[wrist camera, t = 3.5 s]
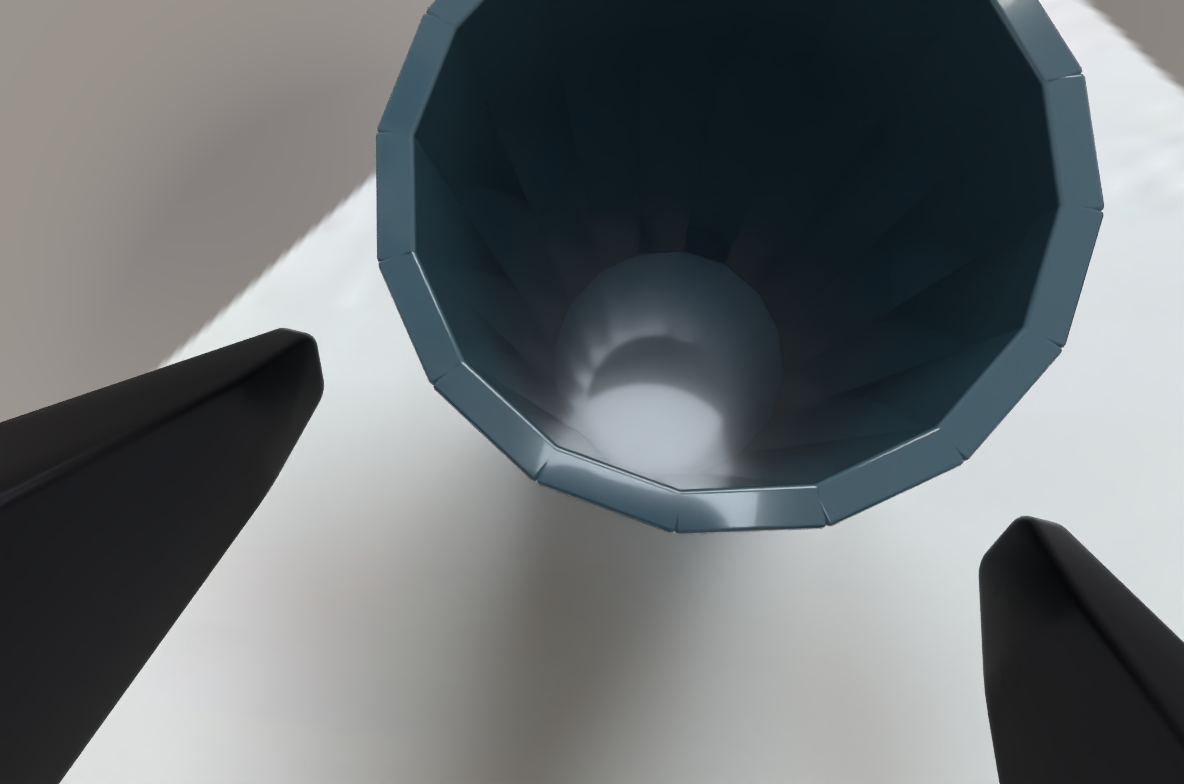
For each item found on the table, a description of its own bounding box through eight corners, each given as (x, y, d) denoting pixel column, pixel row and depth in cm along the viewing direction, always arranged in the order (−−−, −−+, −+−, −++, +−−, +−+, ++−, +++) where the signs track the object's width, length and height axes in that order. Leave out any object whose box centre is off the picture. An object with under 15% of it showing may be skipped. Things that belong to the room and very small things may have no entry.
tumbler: (745, 524, 17) (979, 648, 5) (511, 439, 18) (269, 386, 6) (822, 291, 18) (1185, -54, 6) (592, 218, 19) (515, -219, 7)
